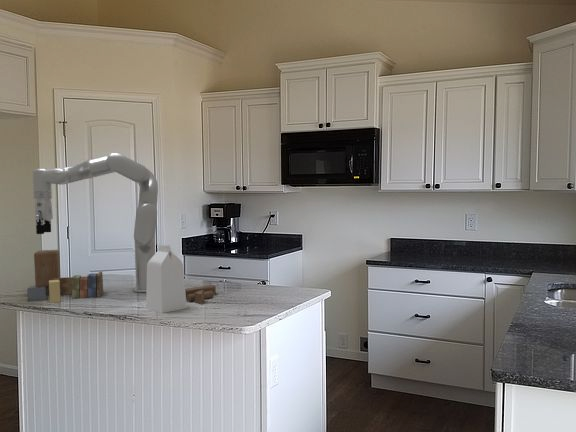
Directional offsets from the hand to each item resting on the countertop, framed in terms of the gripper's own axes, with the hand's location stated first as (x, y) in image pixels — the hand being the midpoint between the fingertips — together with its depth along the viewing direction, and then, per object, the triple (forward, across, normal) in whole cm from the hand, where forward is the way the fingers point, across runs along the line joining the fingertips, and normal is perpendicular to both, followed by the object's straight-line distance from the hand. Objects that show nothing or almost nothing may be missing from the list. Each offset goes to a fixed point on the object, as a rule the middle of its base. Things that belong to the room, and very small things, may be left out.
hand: (43, 233), depth 251 cm
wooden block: (+30, +11, +2) cm, 32 cm away
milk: (+29, -36, -58) cm, 74 cm away
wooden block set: (+29, -20, -74) cm, 82 cm away
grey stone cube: (+30, -6, +1) cm, 30 cm away
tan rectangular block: (+29, -12, -7) cm, 32 cm away
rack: (+29, -2, -14) cm, 33 cm away
